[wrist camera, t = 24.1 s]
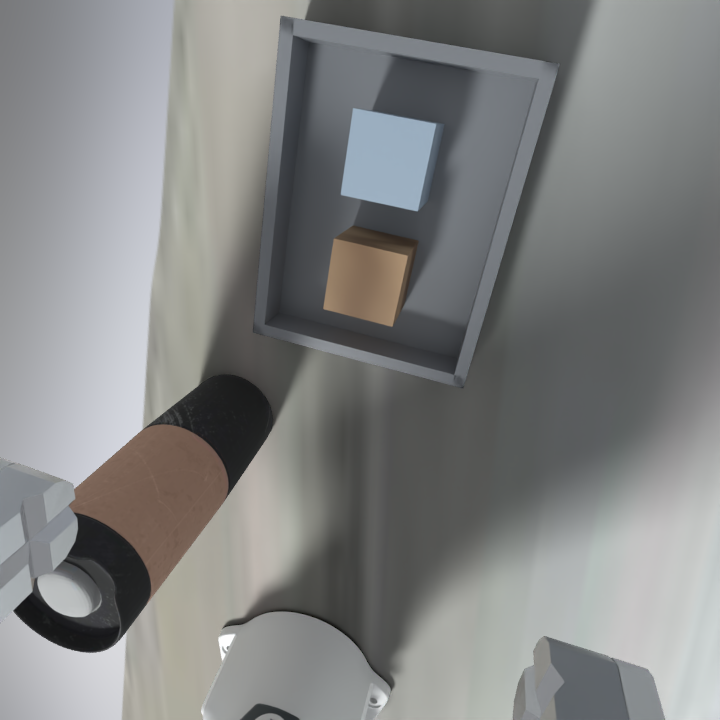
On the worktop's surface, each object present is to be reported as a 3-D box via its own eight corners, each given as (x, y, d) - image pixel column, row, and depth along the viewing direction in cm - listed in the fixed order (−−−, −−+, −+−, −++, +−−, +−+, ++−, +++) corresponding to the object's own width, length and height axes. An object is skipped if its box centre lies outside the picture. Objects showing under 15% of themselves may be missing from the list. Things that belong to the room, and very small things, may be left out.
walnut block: (418, 240, 34) (408, 255, 30) (404, 304, 36) (392, 326, 32) (352, 225, 35) (333, 238, 31) (342, 289, 37) (323, 308, 33)
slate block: (427, 201, 33) (417, 211, 29) (359, 186, 34) (340, 194, 30) (444, 124, 31) (436, 123, 27) (371, 110, 32) (353, 108, 28)
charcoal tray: (466, 366, 38) (463, 388, 35) (272, 316, 40) (252, 332, 37) (553, 70, 29) (560, 63, 26) (302, 26, 32) (280, 15, 28)
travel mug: (194, 439, 47) (7, 630, 29) (191, 362, 43) (-21, 526, 26) (274, 459, 45) (130, 672, 28) (278, 381, 42) (116, 567, 24)
